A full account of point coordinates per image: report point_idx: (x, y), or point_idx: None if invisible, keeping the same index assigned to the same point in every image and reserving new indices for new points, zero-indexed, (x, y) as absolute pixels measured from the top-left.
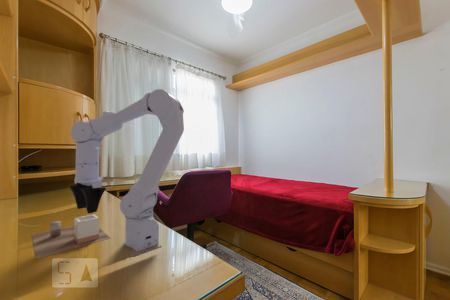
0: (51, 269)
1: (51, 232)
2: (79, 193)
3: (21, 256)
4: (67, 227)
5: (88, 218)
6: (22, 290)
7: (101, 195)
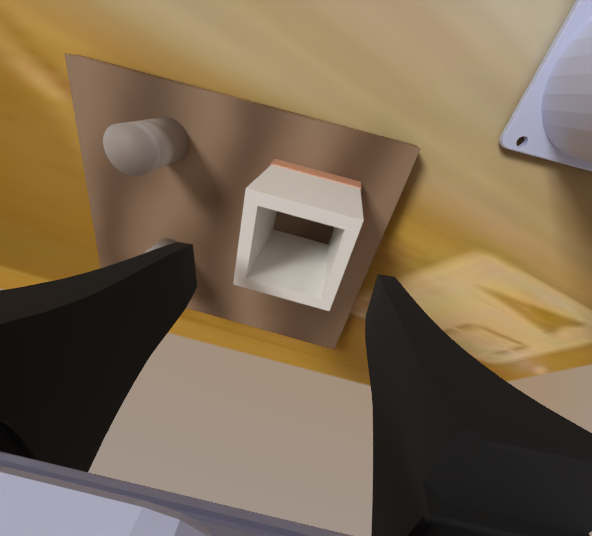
0: None
1: None
2: (116, 369)
3: (243, 330)
4: (87, 184)
5: (258, 220)
6: None
7: (492, 377)
